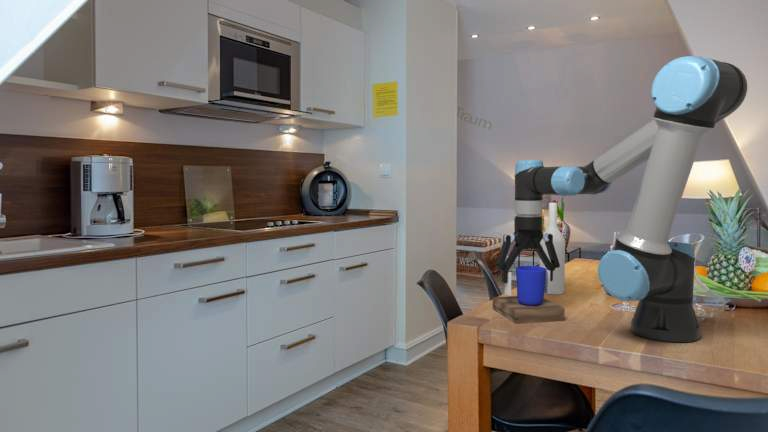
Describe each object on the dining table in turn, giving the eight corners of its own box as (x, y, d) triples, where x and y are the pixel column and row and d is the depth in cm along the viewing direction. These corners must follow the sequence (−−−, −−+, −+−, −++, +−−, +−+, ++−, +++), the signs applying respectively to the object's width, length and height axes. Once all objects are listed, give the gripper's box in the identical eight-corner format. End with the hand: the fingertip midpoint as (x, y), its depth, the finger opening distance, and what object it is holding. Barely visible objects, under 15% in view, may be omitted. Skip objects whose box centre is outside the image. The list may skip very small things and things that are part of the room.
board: (564, 320, 146) (564, 307, 146) (515, 323, 144) (515, 310, 143) (537, 306, 162) (537, 295, 162) (492, 309, 159) (492, 297, 159)
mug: (540, 297, 158) (540, 263, 157) (548, 307, 146) (549, 271, 145) (511, 296, 159) (512, 263, 158) (517, 307, 147) (518, 270, 146)
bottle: (535, 289, 186) (536, 202, 184) (558, 289, 186) (559, 202, 184) (544, 295, 178) (545, 203, 175) (568, 294, 178) (570, 203, 176)
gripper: (560, 213, 156) (559, 289, 158) (483, 215, 152) (482, 292, 154) (574, 215, 149) (572, 294, 151) (493, 217, 145) (492, 298, 147)
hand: (527, 293), depth 152 cm, fingers open, 11 cm apart
